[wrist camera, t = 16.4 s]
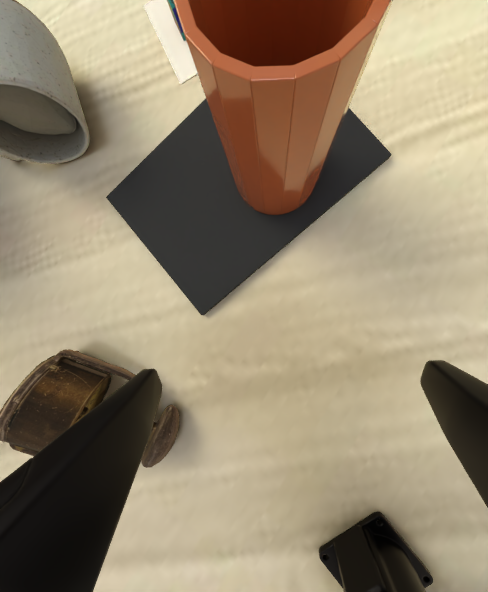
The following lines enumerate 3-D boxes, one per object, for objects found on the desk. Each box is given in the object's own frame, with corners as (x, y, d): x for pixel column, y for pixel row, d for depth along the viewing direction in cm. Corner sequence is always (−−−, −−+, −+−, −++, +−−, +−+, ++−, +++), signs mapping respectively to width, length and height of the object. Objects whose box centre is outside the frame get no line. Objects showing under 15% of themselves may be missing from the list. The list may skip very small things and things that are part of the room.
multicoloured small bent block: (180, 84, 20) (167, 55, 18) (143, 5, 21) (125, -34, 18) (252, 39, 20) (249, 2, 17) (212, -43, 20) (203, -91, 17)
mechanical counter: (56, 314, 16) (-67, 417, 15) (170, 463, 14) (37, 595, 13) (115, 322, 24) (33, 393, 22) (196, 423, 21) (111, 507, 20)
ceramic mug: (83, 61, 21) (-23, -64, 14) (110, 144, 21) (18, 63, 14) (-6, 110, 23) (-147, 21, 15) (18, 188, 23) (-111, 137, 15)
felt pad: (389, 158, 18) (392, 154, 18) (203, 315, 21) (201, 315, 20) (276, 35, 19) (276, 28, 19) (109, 199, 22) (105, 196, 21)
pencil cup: (335, 175, 19) (461, -55, 6) (271, 232, 19) (268, 128, 7) (281, 115, 19) (296, -213, 7) (220, 173, 20) (131, -25, 7)
